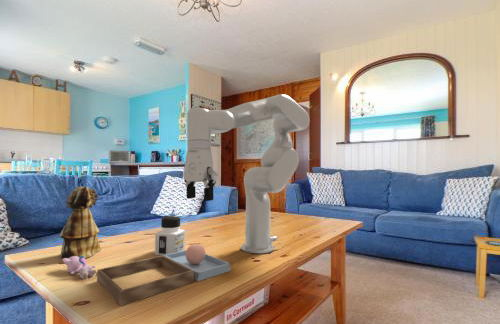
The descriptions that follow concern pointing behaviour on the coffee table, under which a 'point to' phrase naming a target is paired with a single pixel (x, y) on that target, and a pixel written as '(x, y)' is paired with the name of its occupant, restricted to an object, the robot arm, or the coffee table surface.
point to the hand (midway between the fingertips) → (199, 199)
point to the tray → (202, 265)
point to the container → (169, 236)
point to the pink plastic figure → (79, 266)
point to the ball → (195, 254)
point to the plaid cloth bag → (80, 225)
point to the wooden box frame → (147, 289)
